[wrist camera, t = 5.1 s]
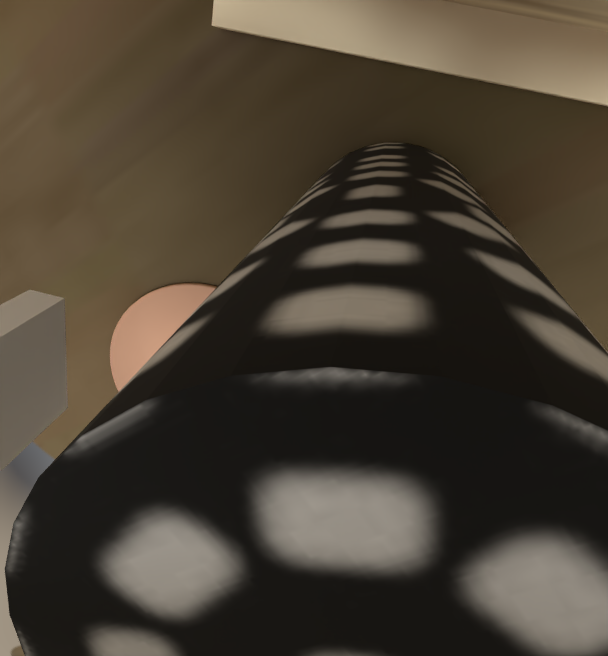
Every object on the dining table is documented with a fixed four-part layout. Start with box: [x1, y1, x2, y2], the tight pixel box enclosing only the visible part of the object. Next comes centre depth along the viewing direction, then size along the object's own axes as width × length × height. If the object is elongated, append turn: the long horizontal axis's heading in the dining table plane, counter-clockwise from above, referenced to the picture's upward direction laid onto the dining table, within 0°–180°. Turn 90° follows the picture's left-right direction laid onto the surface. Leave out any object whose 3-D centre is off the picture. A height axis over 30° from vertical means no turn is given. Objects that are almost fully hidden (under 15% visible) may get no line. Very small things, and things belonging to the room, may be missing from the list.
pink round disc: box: [110, 283, 217, 391], centre depth 28 cm, size 11×11×1 cm
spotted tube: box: [5, 143, 608, 656], centre depth 14 cm, size 8×8×20 cm
